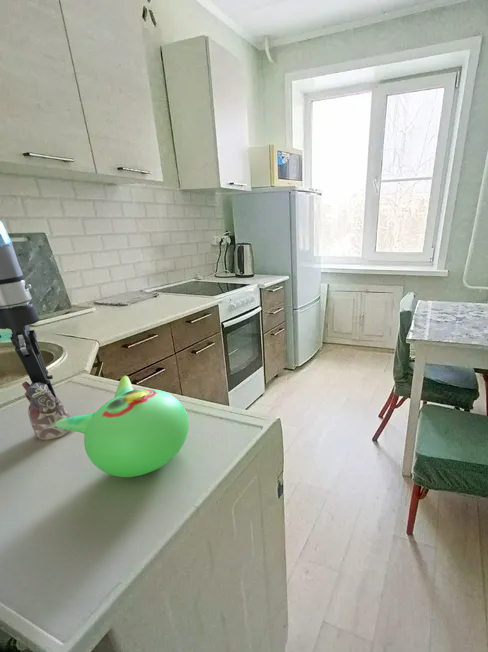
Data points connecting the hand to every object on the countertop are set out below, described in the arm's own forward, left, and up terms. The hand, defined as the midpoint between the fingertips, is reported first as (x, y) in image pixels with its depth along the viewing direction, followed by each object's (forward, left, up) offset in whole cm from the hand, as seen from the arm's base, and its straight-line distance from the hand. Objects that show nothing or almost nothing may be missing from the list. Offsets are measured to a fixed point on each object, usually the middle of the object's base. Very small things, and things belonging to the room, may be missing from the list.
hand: (53, 408), depth 79 cm
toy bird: (+18, -24, -4) cm, 31 cm away
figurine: (0, -4, -3) cm, 5 cm away
